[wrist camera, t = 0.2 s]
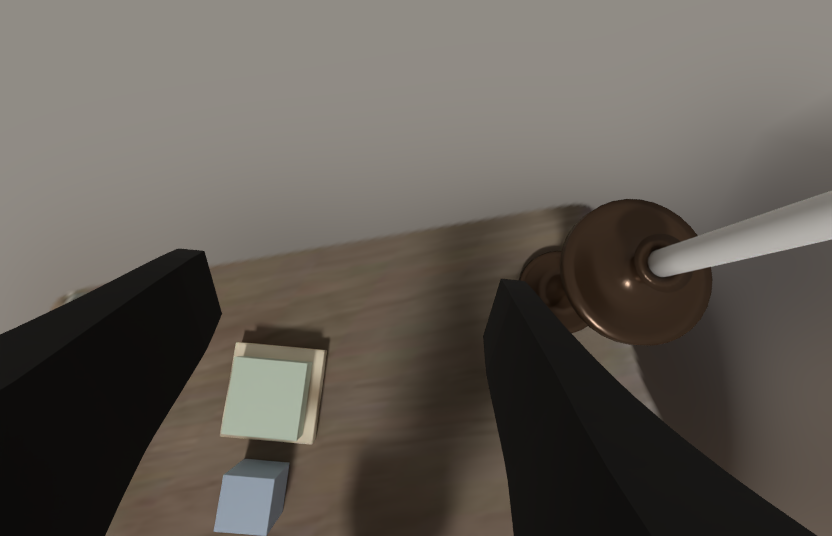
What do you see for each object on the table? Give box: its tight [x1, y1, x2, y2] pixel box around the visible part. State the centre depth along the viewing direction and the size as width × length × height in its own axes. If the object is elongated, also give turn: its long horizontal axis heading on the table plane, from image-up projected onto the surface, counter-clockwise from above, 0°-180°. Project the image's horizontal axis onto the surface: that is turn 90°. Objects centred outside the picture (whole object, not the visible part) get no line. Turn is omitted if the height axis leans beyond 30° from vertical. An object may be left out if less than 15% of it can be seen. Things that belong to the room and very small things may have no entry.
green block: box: [221, 356, 312, 441], centre depth 36 cm, size 7×7×2 cm
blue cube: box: [214, 459, 289, 536], centre depth 35 cm, size 4×4×4 cm
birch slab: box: [220, 342, 327, 444], centre depth 38 cm, size 9×9×2 cm
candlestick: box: [519, 191, 832, 345], centre depth 24 cm, size 11×11×35 cm
